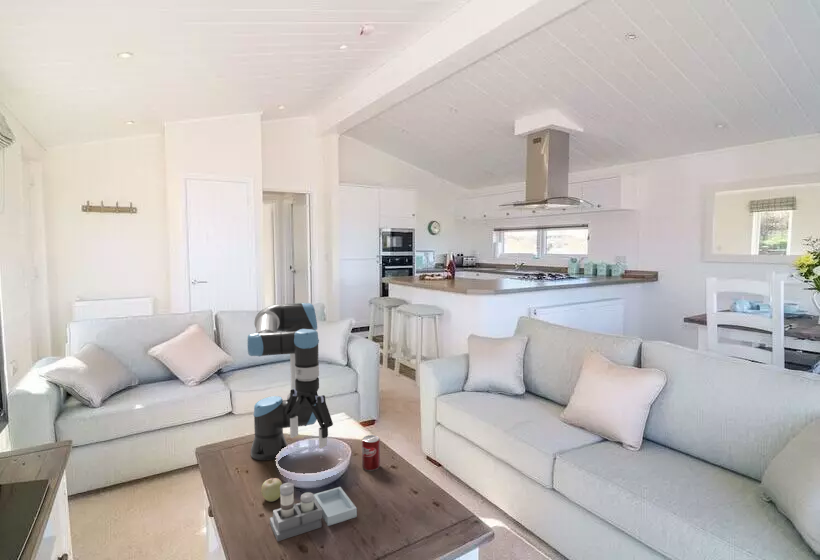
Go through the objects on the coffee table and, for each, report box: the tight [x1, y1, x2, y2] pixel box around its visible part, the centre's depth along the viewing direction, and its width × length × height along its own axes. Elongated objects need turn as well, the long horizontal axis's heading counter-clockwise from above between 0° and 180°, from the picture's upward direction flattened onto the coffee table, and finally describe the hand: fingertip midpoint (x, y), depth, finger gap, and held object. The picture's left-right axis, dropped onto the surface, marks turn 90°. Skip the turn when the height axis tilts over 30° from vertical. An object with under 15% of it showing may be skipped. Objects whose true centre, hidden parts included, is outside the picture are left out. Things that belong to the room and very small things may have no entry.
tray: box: [313, 486, 358, 527], centre depth 155 cm, size 15×10×3 cm, turn 30°
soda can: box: [361, 434, 381, 472], centre depth 183 cm, size 7×7×12 cm
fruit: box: [260, 477, 283, 503], centre depth 161 cm, size 8×7×8 cm
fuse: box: [280, 482, 295, 520], centre depth 144 cm, size 4×4×12 cm
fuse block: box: [269, 491, 323, 542], centre depth 146 cm, size 10×15×9 cm
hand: (308, 441), depth 148 cm, fingers open, 13 cm apart
